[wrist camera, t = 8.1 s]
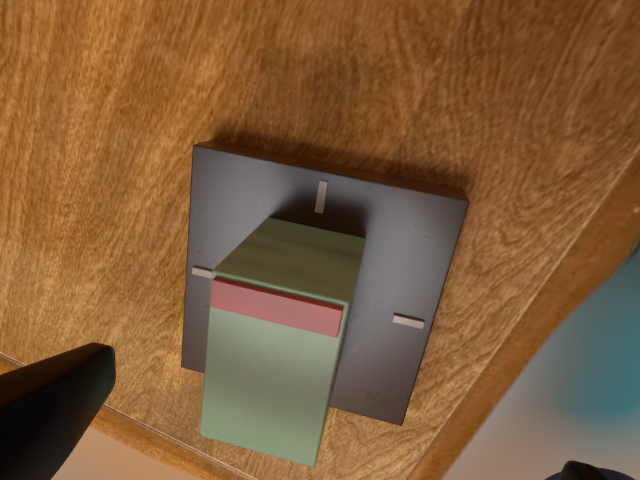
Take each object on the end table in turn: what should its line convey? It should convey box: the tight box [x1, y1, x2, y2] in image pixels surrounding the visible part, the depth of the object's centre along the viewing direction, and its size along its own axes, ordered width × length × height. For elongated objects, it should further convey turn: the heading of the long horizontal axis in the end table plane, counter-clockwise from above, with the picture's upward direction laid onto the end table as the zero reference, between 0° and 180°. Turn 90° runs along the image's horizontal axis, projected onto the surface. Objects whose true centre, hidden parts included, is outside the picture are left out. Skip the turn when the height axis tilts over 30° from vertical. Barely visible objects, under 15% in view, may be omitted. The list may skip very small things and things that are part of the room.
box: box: [200, 218, 366, 467], centre depth 17 cm, size 7×4×6 cm, turn 171°
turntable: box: [181, 140, 469, 426], centre depth 21 cm, size 12×12×2 cm
